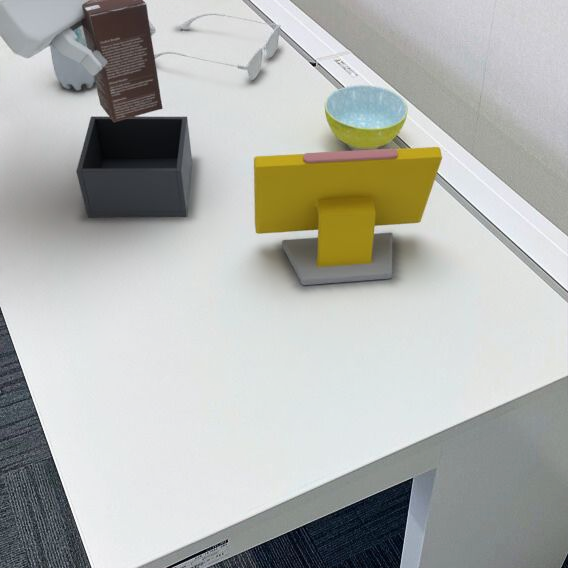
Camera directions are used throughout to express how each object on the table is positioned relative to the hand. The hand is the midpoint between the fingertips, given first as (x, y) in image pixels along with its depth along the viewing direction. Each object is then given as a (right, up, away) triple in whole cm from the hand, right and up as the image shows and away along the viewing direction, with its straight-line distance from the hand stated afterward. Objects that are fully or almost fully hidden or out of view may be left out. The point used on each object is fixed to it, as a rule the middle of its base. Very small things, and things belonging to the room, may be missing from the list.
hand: (126, 53), depth 81 cm
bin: (-3, -10, +19) cm, 22 cm away
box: (-1, -4, +5) cm, 7 cm away
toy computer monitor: (+23, -21, +11) cm, 33 cm away
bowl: (+26, -2, +29) cm, 39 cm away
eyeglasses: (+2, +16, +44) cm, 47 cm away
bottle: (-18, +9, +36) cm, 41 cm away
